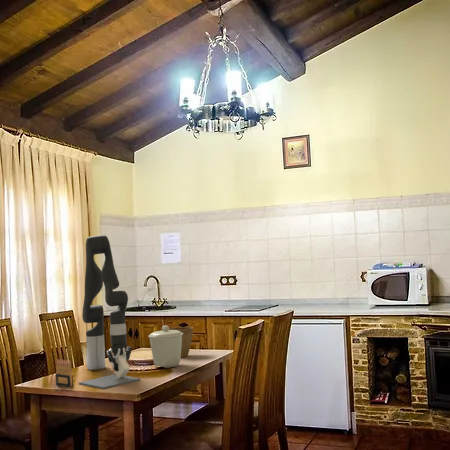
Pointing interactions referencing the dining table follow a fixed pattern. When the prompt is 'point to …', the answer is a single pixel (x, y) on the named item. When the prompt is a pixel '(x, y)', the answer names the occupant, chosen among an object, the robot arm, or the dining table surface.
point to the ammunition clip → (64, 373)
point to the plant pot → (185, 339)
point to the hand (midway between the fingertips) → (120, 370)
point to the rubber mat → (108, 381)
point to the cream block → (121, 367)
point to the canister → (166, 347)
